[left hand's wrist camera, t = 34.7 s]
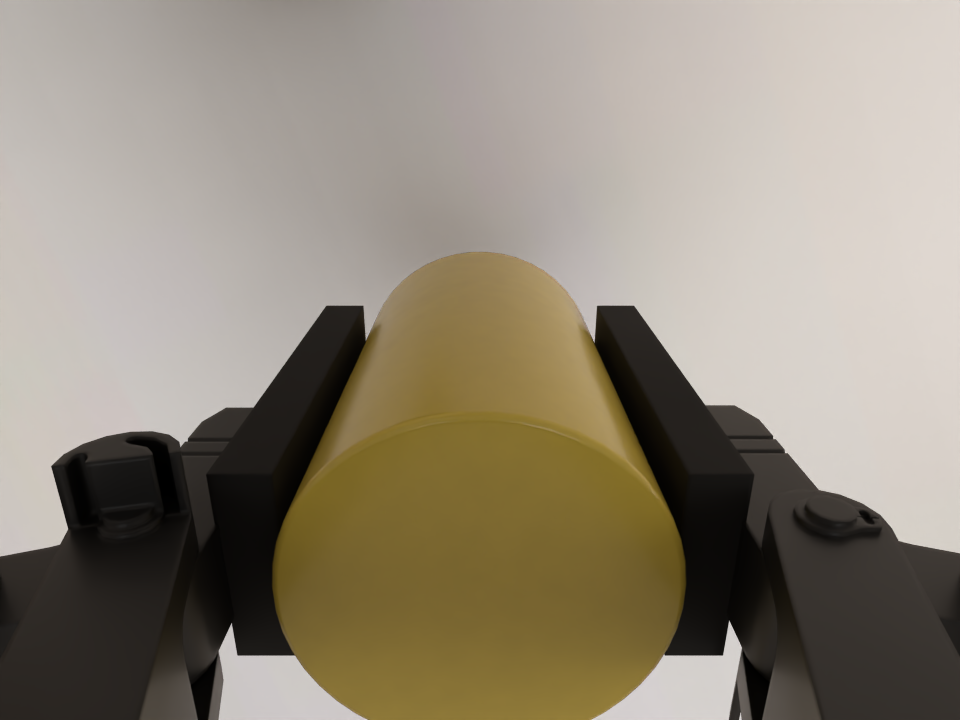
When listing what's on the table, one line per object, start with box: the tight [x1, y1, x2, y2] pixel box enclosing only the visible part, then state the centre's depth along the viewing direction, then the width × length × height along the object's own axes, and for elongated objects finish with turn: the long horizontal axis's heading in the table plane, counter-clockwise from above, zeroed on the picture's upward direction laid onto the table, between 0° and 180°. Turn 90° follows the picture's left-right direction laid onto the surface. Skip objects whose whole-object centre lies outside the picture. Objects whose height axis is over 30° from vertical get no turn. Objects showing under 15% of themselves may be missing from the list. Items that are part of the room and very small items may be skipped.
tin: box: [272, 252, 686, 720], centre depth 11 cm, size 5×5×8 cm
